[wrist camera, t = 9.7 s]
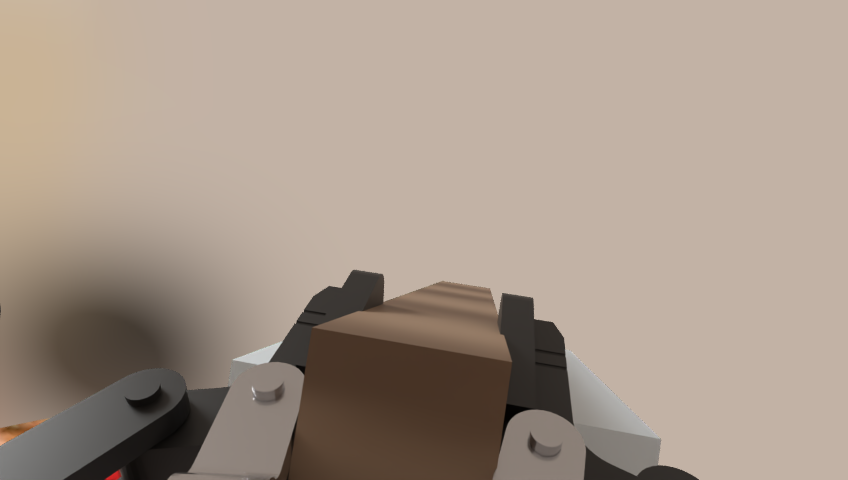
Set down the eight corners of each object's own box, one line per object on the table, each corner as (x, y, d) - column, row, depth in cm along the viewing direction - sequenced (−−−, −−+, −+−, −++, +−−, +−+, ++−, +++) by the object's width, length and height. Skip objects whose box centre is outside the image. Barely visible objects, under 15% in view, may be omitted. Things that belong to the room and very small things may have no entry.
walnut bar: (482, 574, 7) (512, 361, 7) (280, 528, 7) (311, 327, 7) (483, 336, 31) (489, 288, 31) (435, 328, 31) (442, 281, 31)
